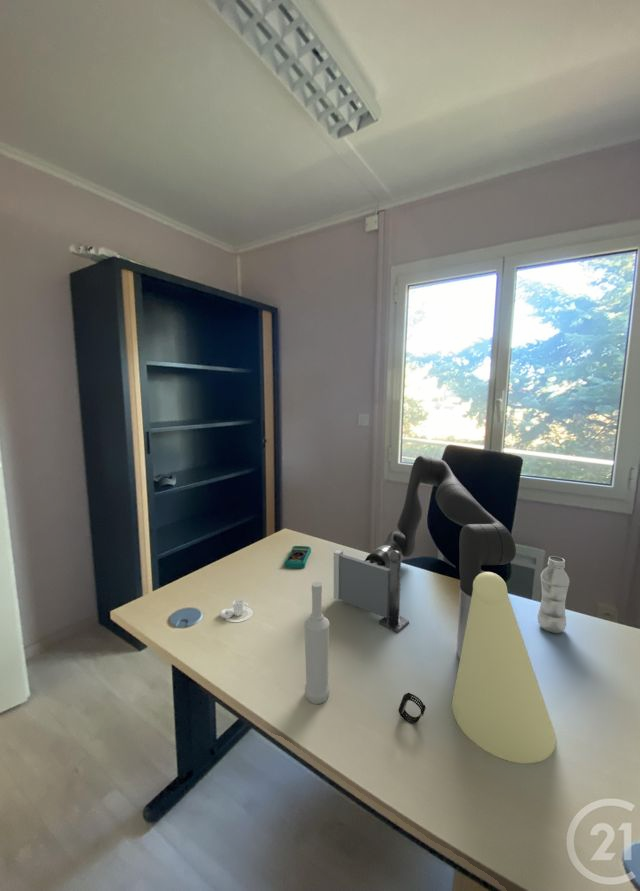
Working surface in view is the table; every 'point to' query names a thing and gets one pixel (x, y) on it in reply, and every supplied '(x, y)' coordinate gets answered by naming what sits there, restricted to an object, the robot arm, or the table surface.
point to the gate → (362, 584)
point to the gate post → (394, 595)
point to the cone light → (500, 681)
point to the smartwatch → (403, 705)
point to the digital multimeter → (298, 557)
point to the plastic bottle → (553, 596)
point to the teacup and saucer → (236, 611)
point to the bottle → (317, 650)
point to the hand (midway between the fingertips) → (356, 581)
